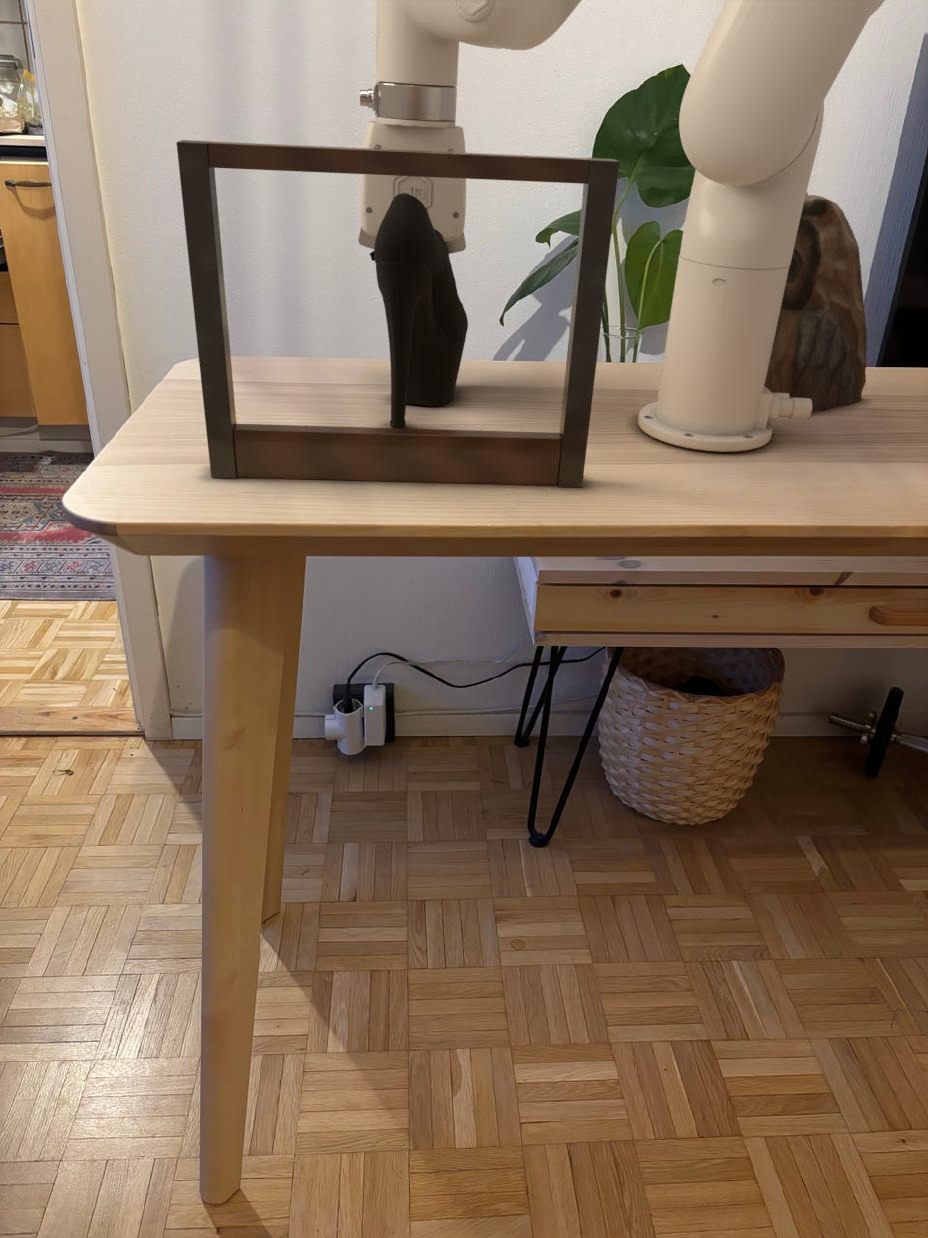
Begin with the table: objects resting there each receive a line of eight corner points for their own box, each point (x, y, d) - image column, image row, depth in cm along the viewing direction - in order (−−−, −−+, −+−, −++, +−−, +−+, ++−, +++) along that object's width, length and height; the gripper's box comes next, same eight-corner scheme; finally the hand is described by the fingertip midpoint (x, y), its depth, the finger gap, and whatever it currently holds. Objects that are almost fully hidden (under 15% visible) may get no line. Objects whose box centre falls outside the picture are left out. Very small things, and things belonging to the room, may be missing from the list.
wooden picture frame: (578, 478, 77) (614, 158, 65) (582, 487, 75) (619, 161, 63) (215, 468, 76) (182, 139, 63) (211, 478, 74) (176, 141, 62)
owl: (793, 418, 93) (842, 204, 83) (700, 386, 102) (734, 188, 92) (867, 401, 100) (922, 199, 90) (773, 372, 109) (813, 185, 98)
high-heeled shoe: (474, 382, 100) (484, 179, 90) (431, 440, 84) (437, 199, 73) (403, 375, 101) (405, 173, 91) (347, 430, 85) (342, 192, 75)
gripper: (331, 103, 83) (334, 314, 92) (497, 114, 83) (484, 321, 93) (339, 100, 89) (341, 297, 98) (493, 110, 90) (481, 304, 99)
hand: (410, 308), depth 96 cm, fingers closed
